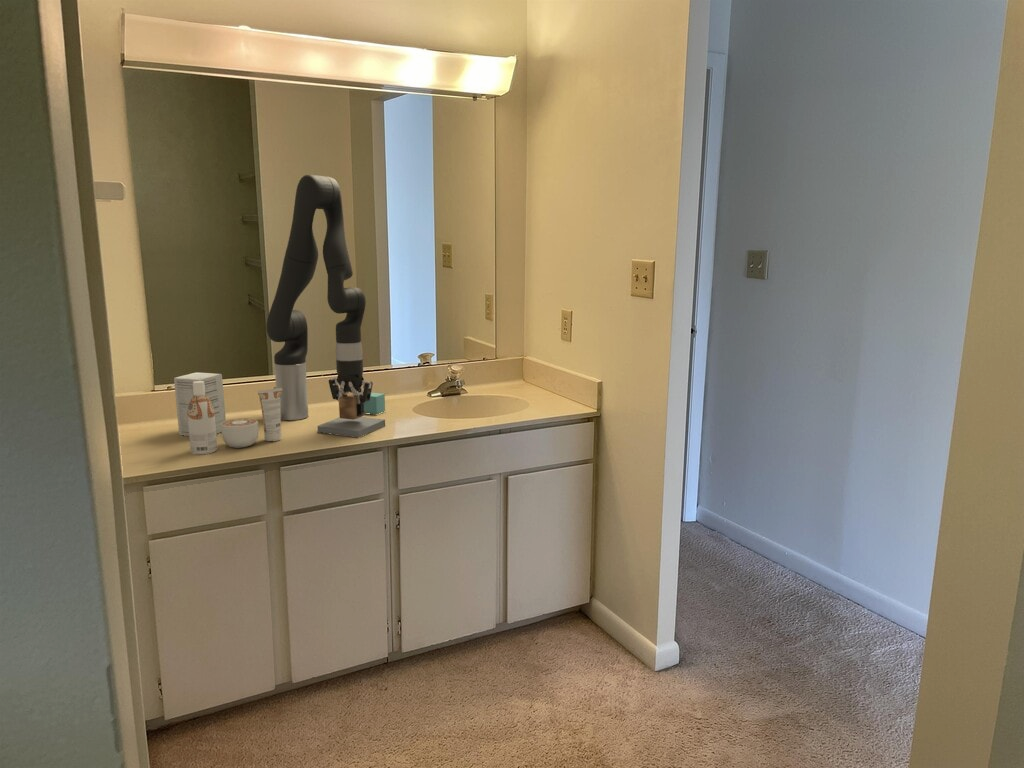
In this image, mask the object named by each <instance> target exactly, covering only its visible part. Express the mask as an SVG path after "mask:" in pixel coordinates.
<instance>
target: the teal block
mask: <svg viewBox="0 0 1024 768" xmlns="http://www.w3.org/2000/svg"><path fill="white" fill-rule="evenodd" d="M384 411H385V412H386V395H385V393H380V392H372V391H371V396H370V400H369V401H366V402H364V413H370V414H379V413H381V412H383V413H385V412H384ZM370 414H369V415H370ZM381 414H382V413H381ZM379 415H380V414H379Z"/></svg>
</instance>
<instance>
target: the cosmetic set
mask: <svg viewBox="0 0 1024 768" xmlns="http://www.w3.org/2000/svg"><path fill="white" fill-rule="evenodd" d="M193 391H194V395H193V397H192V399H191V400H190V402H189V405H188V409H187V415H188V426H189V436H188V438H189V446H190V447H189V449H190V453H191V454H193V455H210V454H212V453H215V452H216V451H217V450H218V441H217V440H218V439H217V434H216V425H215V413H214V407H213V404H212V402H211V401H210V399H209V398H208V397H207V396H206V394H205V385H204V381H194V382H193ZM281 393H282V388H277V389H273V388H269V389H262V390H257V395H258V397H259V402H260V406H261V407H260V408H261V415H262V422H263V435H264V440H265V441H267V442H270V441H273V442H278V441H280V440H281V439H282V426H281V425H282V423H281ZM221 429H222V432H221V437H222V440H223V442H224V444H226V445H227V446H228V447H231V448H234V447H235V449H236V448H238V449H240V448H241V447H242V448H247V447H249V446H252V445H253V444H255V443H256V442H257V440H258V438H259V423H258V420H257V419H255V418H251V417H240V418H231V419H226V421H224V422H222V423H221Z"/></svg>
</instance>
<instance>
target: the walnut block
mask: <svg viewBox="0 0 1024 768" xmlns="http://www.w3.org/2000/svg"><path fill="white" fill-rule="evenodd" d="M356 404H357V402H356V398H355V397H354V396H353V394H347V396H343V397H340V398H339V402H338V410H339V411H338V412H339V413H338V414H339V417H340V418H343V419H352V420H355V419H357V418H360V417H364V416H365V414H363V415H362V416H357V405H356Z"/></svg>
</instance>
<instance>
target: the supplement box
mask: <svg viewBox="0 0 1024 768" xmlns="http://www.w3.org/2000/svg"><path fill="white" fill-rule="evenodd" d="M194 381H204V385H205V394H206V396H207V397H208V398H209V399H210V401H211V402H212V404H213V407H214V413H215V425H216V435H217V434H220V433H222V429H221V423H222V422H224V421H227V417H226V407H225V396H224V395H225V394H224V384H223V375H222V373H212V372H211V373H210V372H192V373H189V374H184V375H180V376H176V377H174V378H173V384H174V392H175V393H174V394H175V402H176V403H175V404H176V413H177V423H178V433H179V436H182V435H184V437H189V426H188V415H187V409H188V405H189V402H190V400H191V399H192V397H193V395H194V391H193V382H194Z"/></svg>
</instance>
